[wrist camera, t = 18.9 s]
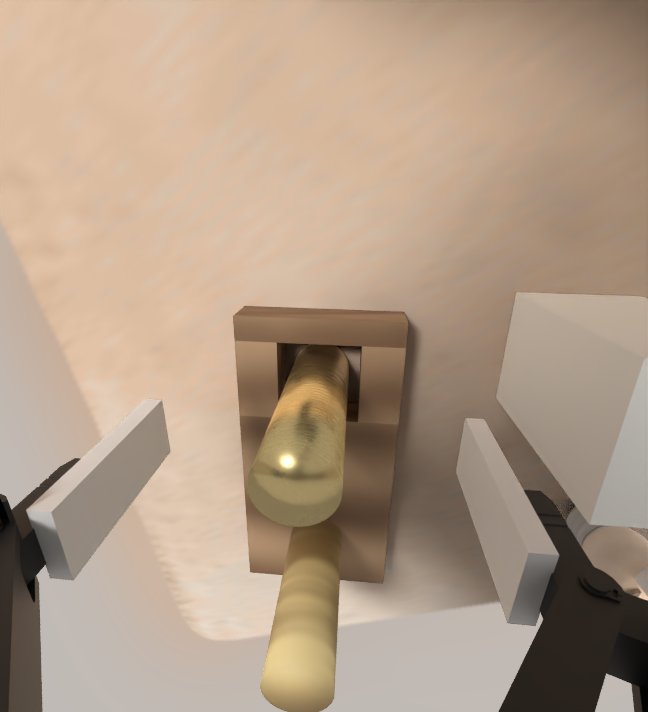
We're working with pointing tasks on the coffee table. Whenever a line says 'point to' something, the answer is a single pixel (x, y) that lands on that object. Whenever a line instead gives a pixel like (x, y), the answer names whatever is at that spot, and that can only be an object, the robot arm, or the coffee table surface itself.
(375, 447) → the board
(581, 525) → the light bulb
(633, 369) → the block
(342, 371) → the pin
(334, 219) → the coffee table surface
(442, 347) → the coffee table surface
